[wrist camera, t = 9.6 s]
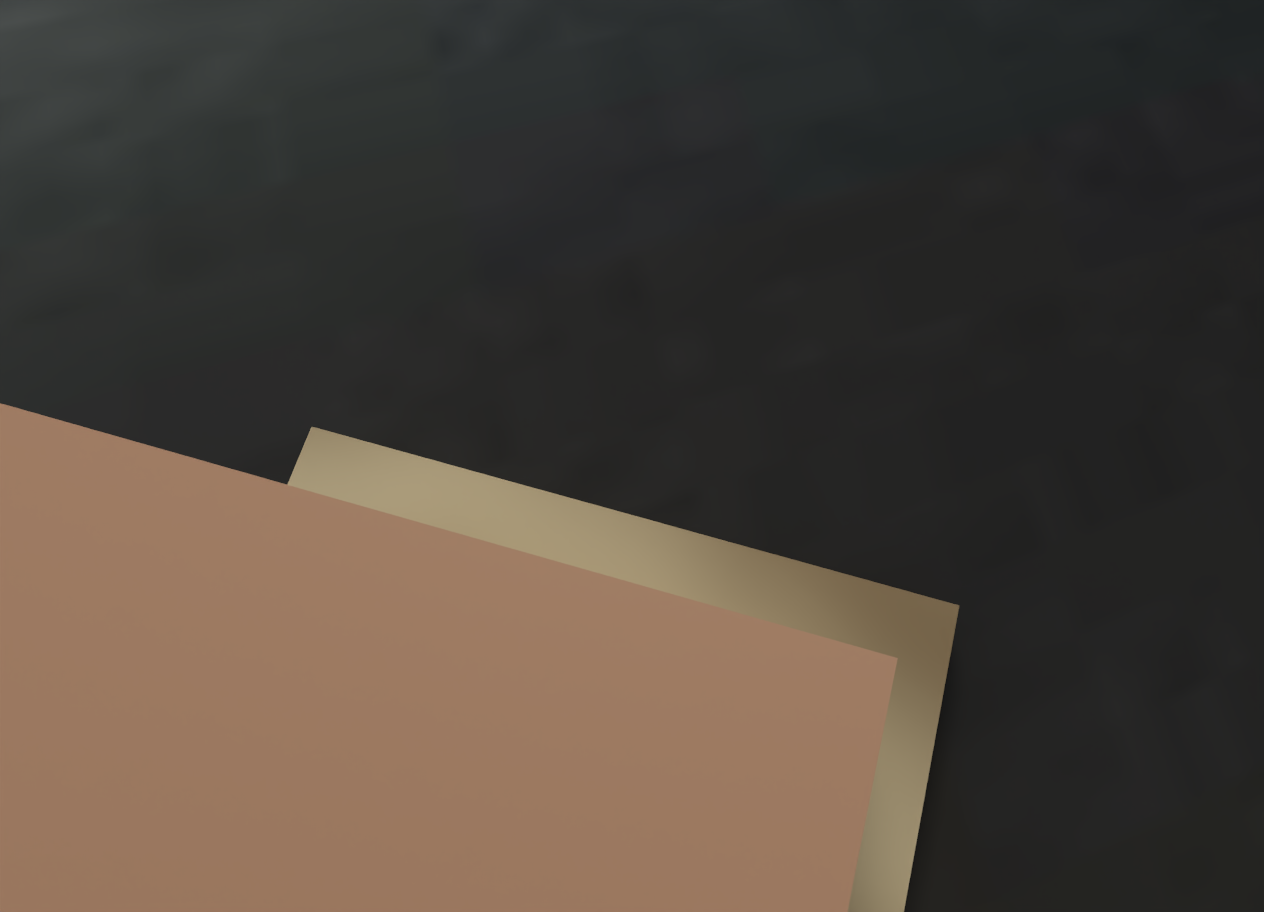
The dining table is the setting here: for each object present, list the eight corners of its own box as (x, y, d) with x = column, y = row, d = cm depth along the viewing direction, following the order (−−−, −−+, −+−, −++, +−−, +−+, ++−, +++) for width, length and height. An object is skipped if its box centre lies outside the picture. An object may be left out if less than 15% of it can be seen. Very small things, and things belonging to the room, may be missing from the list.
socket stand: (794, 1410, 14) (842, 1594, 11) (42, 1143, 15) (-119, 1238, 12) (941, 615, 18) (1011, 575, 15) (327, 444, 19) (264, 372, 16)
